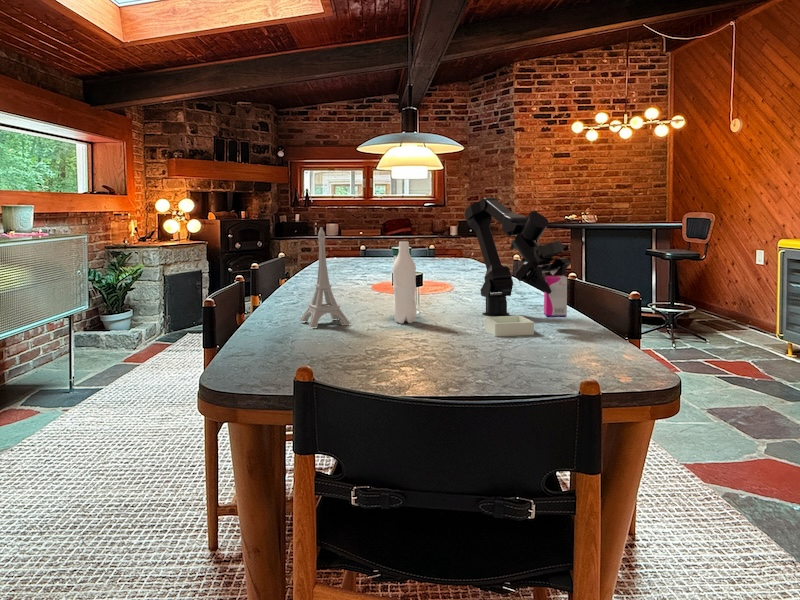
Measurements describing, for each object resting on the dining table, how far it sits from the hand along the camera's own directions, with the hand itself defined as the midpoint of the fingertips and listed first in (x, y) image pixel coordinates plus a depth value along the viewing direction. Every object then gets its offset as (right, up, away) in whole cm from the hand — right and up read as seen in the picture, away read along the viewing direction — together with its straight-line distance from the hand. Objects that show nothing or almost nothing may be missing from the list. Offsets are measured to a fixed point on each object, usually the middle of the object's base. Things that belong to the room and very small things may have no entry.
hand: (559, 291), depth 181 cm
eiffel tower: (-69, -10, +17) cm, 72 cm away
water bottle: (-44, -10, +17) cm, 48 cm away
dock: (-15, -11, -1) cm, 19 cm away
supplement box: (-1, -7, +2) cm, 7 cm away
